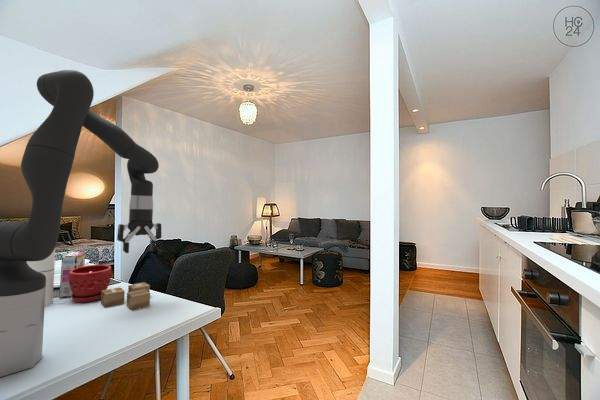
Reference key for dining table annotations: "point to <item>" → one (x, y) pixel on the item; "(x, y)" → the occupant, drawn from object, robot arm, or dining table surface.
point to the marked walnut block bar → (112, 297)
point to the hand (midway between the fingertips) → (139, 251)
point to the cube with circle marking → (138, 287)
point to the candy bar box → (67, 265)
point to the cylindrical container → (46, 274)
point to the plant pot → (89, 282)
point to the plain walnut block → (138, 299)
